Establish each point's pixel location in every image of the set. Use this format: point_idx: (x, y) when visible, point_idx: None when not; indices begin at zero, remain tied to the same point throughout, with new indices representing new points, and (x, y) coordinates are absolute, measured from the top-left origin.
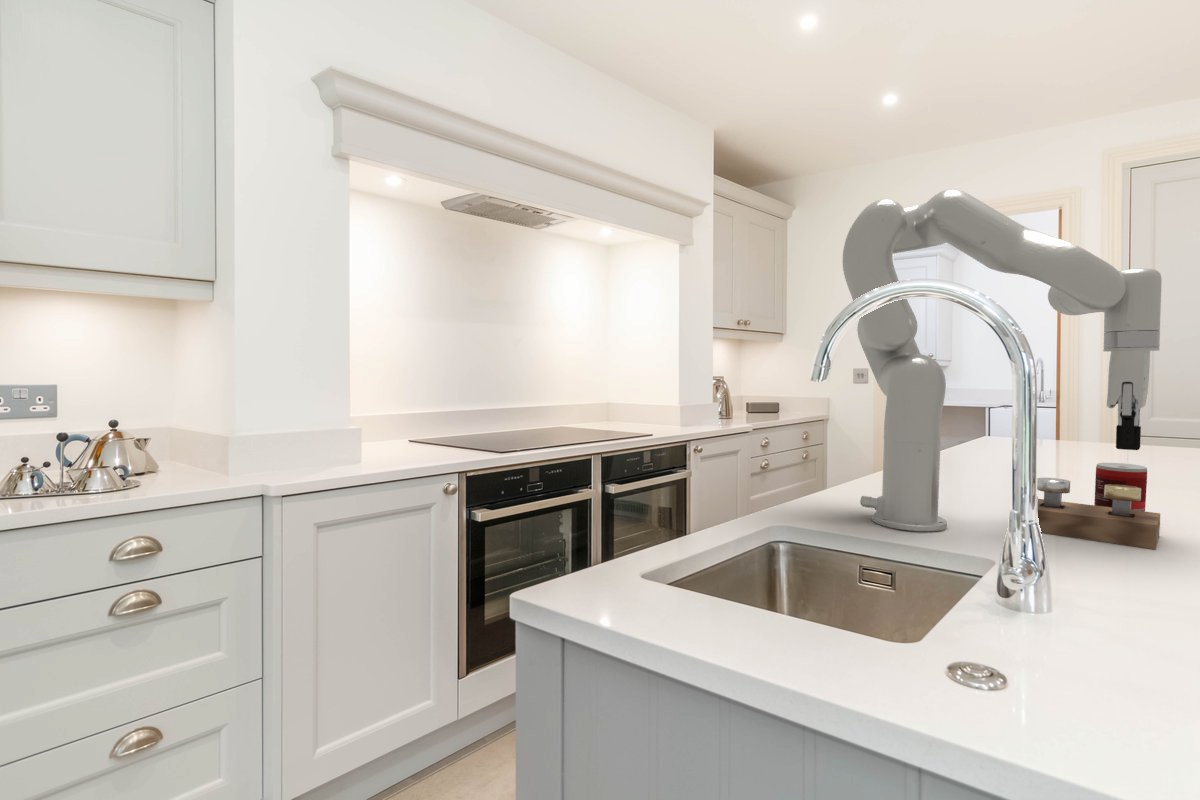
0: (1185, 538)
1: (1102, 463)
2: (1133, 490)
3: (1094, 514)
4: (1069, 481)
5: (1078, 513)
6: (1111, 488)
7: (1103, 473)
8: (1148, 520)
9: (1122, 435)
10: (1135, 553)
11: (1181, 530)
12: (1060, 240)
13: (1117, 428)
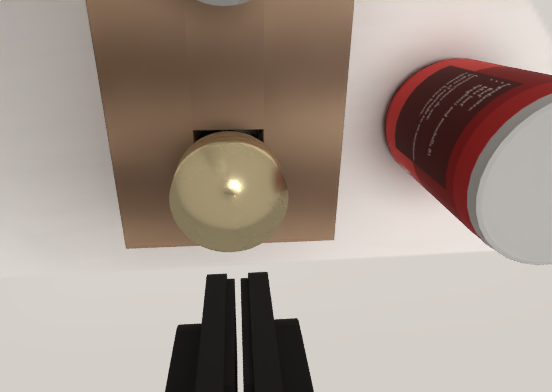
0: (332, 252)
1: None
2: (187, 234)
3: (155, 98)
4: (225, 2)
5: (127, 50)
6: (176, 171)
7: (490, 118)
8: None
9: (169, 369)
10: (51, 186)
11: (428, 240)
12: None
13: (197, 384)
